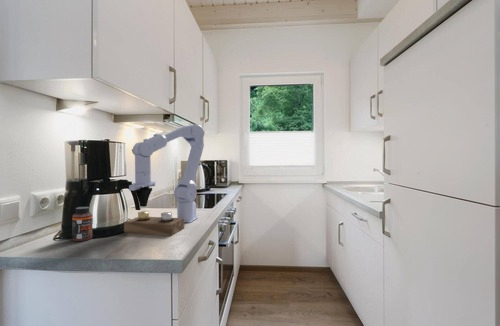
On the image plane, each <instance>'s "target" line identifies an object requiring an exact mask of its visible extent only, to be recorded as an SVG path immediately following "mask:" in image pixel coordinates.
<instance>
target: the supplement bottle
mask: <svg viewBox="0 0 500 326" xmlns="http://www.w3.org/2000/svg"><path fill="white" fill-rule="evenodd" d="M71 219H72V226H71V227H72V229H71V230H72V235H71V236H72V241H73V242H85V241H88V240H91V239H92V238H93V214H92V212H90V207H89V206H78V207H76V208H75V213H74V214H72V218H71Z"/></svg>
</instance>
